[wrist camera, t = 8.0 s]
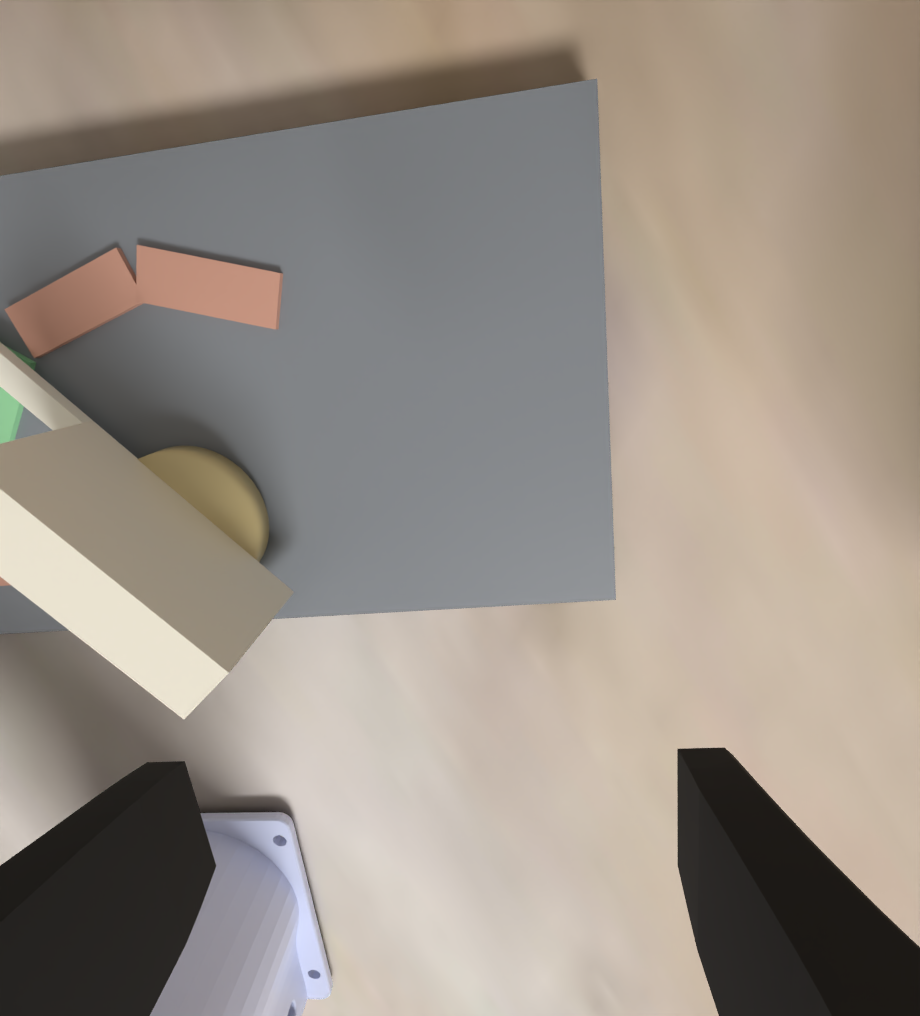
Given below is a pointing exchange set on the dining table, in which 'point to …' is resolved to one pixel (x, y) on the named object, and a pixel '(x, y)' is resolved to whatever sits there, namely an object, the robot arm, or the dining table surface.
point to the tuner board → (347, 341)
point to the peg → (134, 546)
